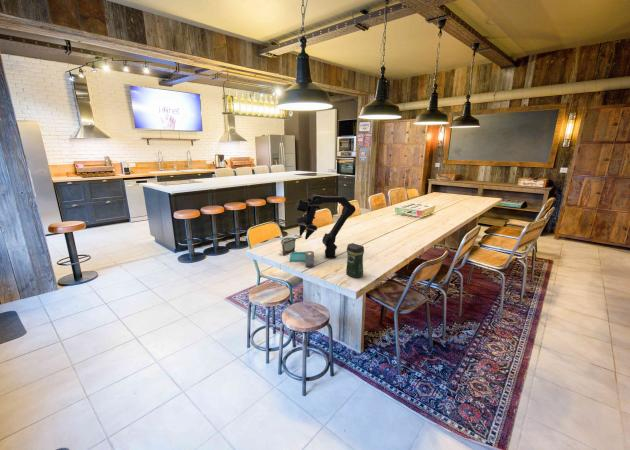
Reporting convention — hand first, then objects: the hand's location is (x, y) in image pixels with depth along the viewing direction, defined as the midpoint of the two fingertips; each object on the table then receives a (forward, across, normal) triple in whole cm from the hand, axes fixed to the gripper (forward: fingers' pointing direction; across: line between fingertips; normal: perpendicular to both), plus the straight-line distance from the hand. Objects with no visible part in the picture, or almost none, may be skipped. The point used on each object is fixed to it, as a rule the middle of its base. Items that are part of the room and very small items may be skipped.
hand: (303, 237), depth 186 cm
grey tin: (+15, +9, +6) cm, 19 cm away
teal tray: (+14, -6, +6) cm, 17 cm away
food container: (+16, -20, +1) cm, 25 cm away
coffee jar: (+10, +31, +24) cm, 40 cm away
